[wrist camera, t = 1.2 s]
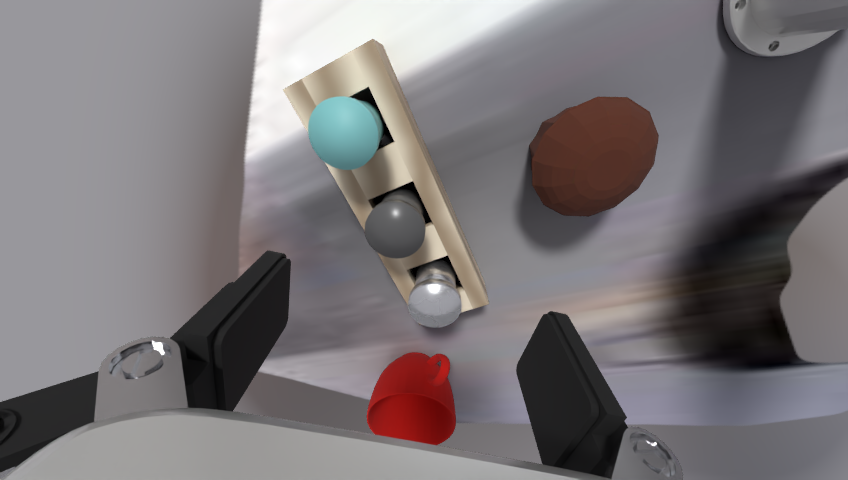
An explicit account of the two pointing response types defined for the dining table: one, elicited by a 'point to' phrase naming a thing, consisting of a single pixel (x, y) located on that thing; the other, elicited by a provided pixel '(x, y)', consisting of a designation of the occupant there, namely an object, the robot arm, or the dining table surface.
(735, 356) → the dining table surface
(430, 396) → the ceramic cup
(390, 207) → the dark gray knob
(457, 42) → the dining table surface
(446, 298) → the steel knob
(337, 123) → the teal knob
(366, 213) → the box
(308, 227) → the dining table surface
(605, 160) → the muffin
